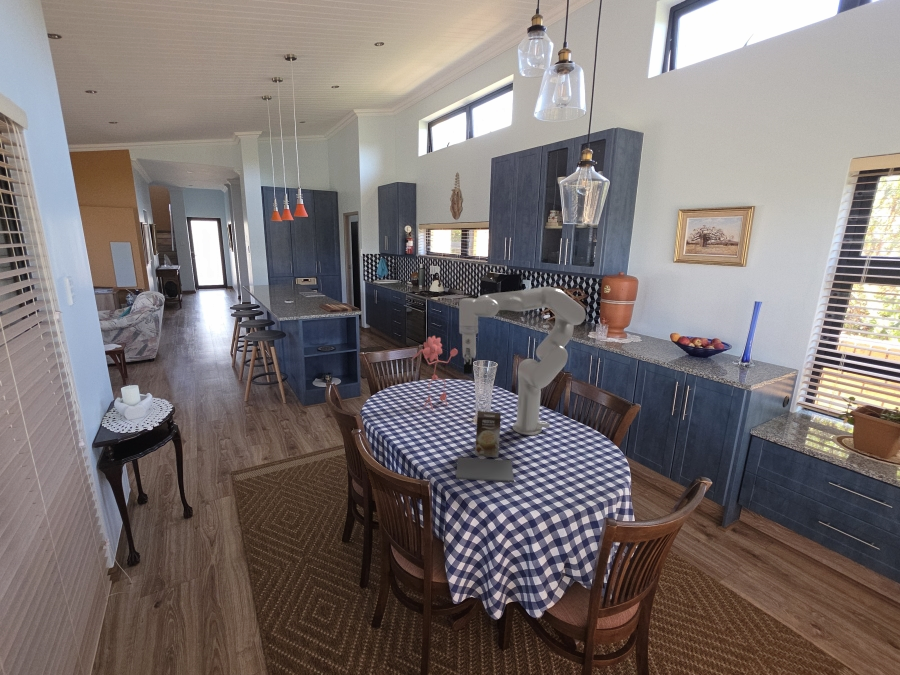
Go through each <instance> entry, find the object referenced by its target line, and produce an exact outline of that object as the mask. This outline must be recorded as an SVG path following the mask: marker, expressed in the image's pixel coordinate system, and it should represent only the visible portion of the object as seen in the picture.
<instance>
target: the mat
mask: <svg viewBox="0 0 900 675" xmlns="http://www.w3.org/2000/svg"><path fill="white" fill-rule="evenodd" d="M513 471H514V470H513V463H512V459H511V460H508V459H493V458H492V459H491V458H471V457H457V464H456V472H455V473H456V474H455V479H456V480H457V479H458V480H469V481H470V480H471V481H472V480H473V481H476V480H477V481H489V482H490V481H491V482H492V481H493V482H494V481H495V482H506V483H507V482H509V483H513V482H515V478H514V472H513Z"/></svg>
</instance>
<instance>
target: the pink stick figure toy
mask: <svg viewBox="0 0 900 675" xmlns="http://www.w3.org/2000/svg"><path fill="white" fill-rule="evenodd" d="M441 339H442V338H441V337H436V335H432V336H428V337H427V341H424V342H423V347H424V348H423V349H422V348H421V349H420V350H419V351H418V352H417V353H415V355H413V357H412V358H411V359H410V361H413V360H414V359H415V358H417V357H418V356H419V355H420V354H421V353H422V354H423V357H424V359H425V361H426V362H427V364H428V365H432V364H434V371H433V375H432V376H431V380H430V383H429V384H428V389H430V386H431V383H432V382H433V381H436V380H440V381H443V382H444V384H443V389H445V387H446V386H445V384H446V380H444V379H442V378H439V377H438V375H437V374H436V369H437V365H438V363H445V364H448V363H449V362H450V360H451V358H452V357H453V358H454V357H455V356H457V355H458V353H459V352H458V349H456V348H452V349H451V350H450V352H449V353H450V356H449V358H448V360H447V361H443V360H439V355H442V354H443V348H442V347H443V344H442V343H441ZM428 359H429V360H428ZM434 360H435V361H434ZM429 361H430V362H429ZM430 398H432V396H429V397H427V399H426V401H425V403H424V404H423V408H425V407H426V405H427V404H428V403H429V404H430V406H431V407H430V408H431V410H432V411H434V408H433V404H432V401H431V399H430ZM446 398H447V393H446V392H445V390H443V393H442V394H441V395H440V396H439V400H440V401H441V402H445V406H446V405H447V406H448V402H447V400H446ZM413 405H415V403H414V402H413Z"/></svg>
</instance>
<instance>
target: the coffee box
mask: <svg viewBox="0 0 900 675" xmlns="http://www.w3.org/2000/svg"><path fill="white" fill-rule="evenodd" d="M476 413H477V414H476V416H477V417H476V428H475V429H476V432H475V444H474V445H475V447H474V456H477V457H488V458H489V457H490V458H499V449H500V437H501V436H500V434H501V420H502V419H501V418H502V415H501V412H497V411H494V412H493V411H483V410H477V412H476Z"/></svg>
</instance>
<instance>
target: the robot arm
mask: <svg viewBox="0 0 900 675" xmlns="http://www.w3.org/2000/svg"><path fill="white" fill-rule="evenodd" d="M458 306H459V307H458V308H459V309H458V310H459V318H458V319H459V321H458V322H459V323H458V324H459V328H458V329H459V334H460V335H461V337H462V338H461V339H462V340H461V341H462V345H461V346H462V358H463V359H464V362H463V374H466V375H467V374H468V375H470V374H471V375H472V374H473V367H474V359H475V358H476V355H477V341H476V340H477V339H476V338H477V337H476V336H477V334H478V333H479V317H482V318H492V317H494V316H496V315H497V314H498V313H499V311H511V312H526V311H532V310H537V309H543V308H547V309H548V310H549V309H550V310H552V312H554V319H555V321H554V325H553V328H552V329H551V330H550V331H549V333H548V335H546V337H545V338H543V340H542V341H541V343H540V344H539V345H538V346H537V348H536V350H535V355H536V357H537V359H539V361H537V360H535V359H533V358H526V359H523V360H522V361H521V362H520V363H519V365H518V367H517V378H518V390H517V391H518V393H517V394H518V395H517V409H516V422H514V423H513V424H512V430H513V431H514V432H516V433H518V434H520V435H525V436H534V435H539V434H540V433H541V432H542V430H543V429H542V428H550V427H551V426H550V422H546V421H545V420H542V421H541V420H540V409H541V408H540V407H541V406H540V405H541V395H542V394H541V392H542V391H541V390H542V389H543V388H545V387H547V386H548V385H549V384H550V383H552V381H553V380H554V379H555V378H556V377H557V375H558V374H559V373H560V372H561V371H562V370H563V369H564V367H565V366H566V364H567V361H568V357H569V354H568V350H567V349H566V348H565V347H566V346H567V345H568V343H569V342H570V340H571V338H572V336H573V334H574V327H575V326H578V325H581V324H582V323H583V322H584V321H585V319H586V309H585V308H584V307H583V306H582V305H581V304H580V303H578V302H577V301H575V300H574V299H573V298H572V297H570V296H569V295H568V294H566V293H565V292H564V291H563V290H562V289H559V288H557V287H551V286H540V287H535V288H529V289H521V290H515V291H514V290H512V291H505V292H494V293H488V294H487V293H486V294H483V295H479V296H478V297H477V298H473V297H471V298H469V297H468V298H467V297H466V298H461V299H460V300H459V305H458Z"/></svg>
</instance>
